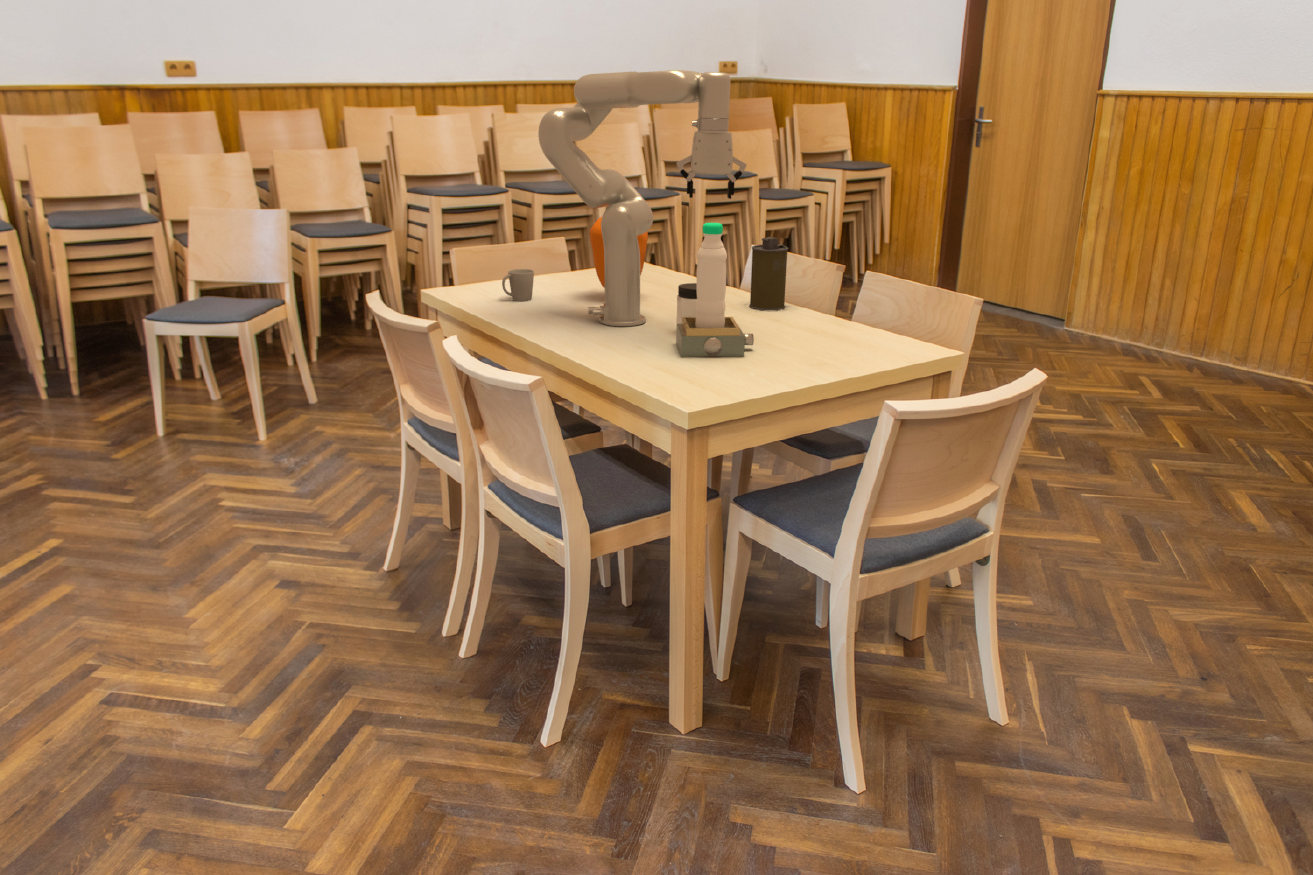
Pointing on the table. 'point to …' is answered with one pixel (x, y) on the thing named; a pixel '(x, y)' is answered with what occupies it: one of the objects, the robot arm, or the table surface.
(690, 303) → the jar
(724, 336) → the gearbox
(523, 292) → the cup
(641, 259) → the orange egg-shaped ornament
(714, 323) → the water bottle
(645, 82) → the robot arm
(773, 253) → the canister
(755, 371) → the table surface
